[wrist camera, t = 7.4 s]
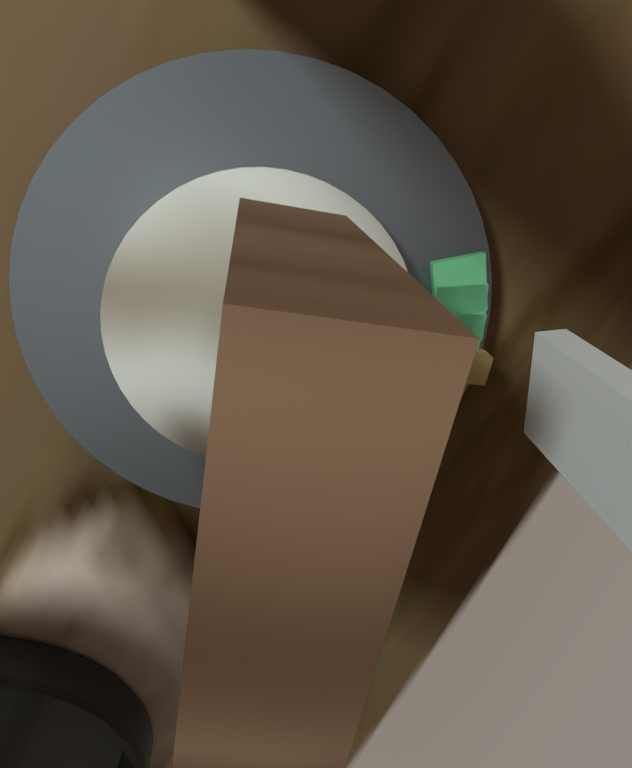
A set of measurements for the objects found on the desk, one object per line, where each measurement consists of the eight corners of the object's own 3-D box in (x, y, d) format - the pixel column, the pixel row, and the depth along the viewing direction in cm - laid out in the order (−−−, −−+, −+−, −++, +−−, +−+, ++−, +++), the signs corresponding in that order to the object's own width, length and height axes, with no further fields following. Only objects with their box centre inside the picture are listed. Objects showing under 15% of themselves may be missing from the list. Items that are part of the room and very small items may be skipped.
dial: (435, 471, 22) (646, 865, 10) (103, 440, 19) (-112, 897, 8) (516, 210, 18) (1024, 369, 6) (109, 136, 15) (-310, 161, 4)
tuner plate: (279, 551, 25) (281, 580, 23) (-66, 330, 19) (-96, 348, 17) (559, 292, 21) (585, 306, 19) (232, -85, 15) (230, -110, 13)
